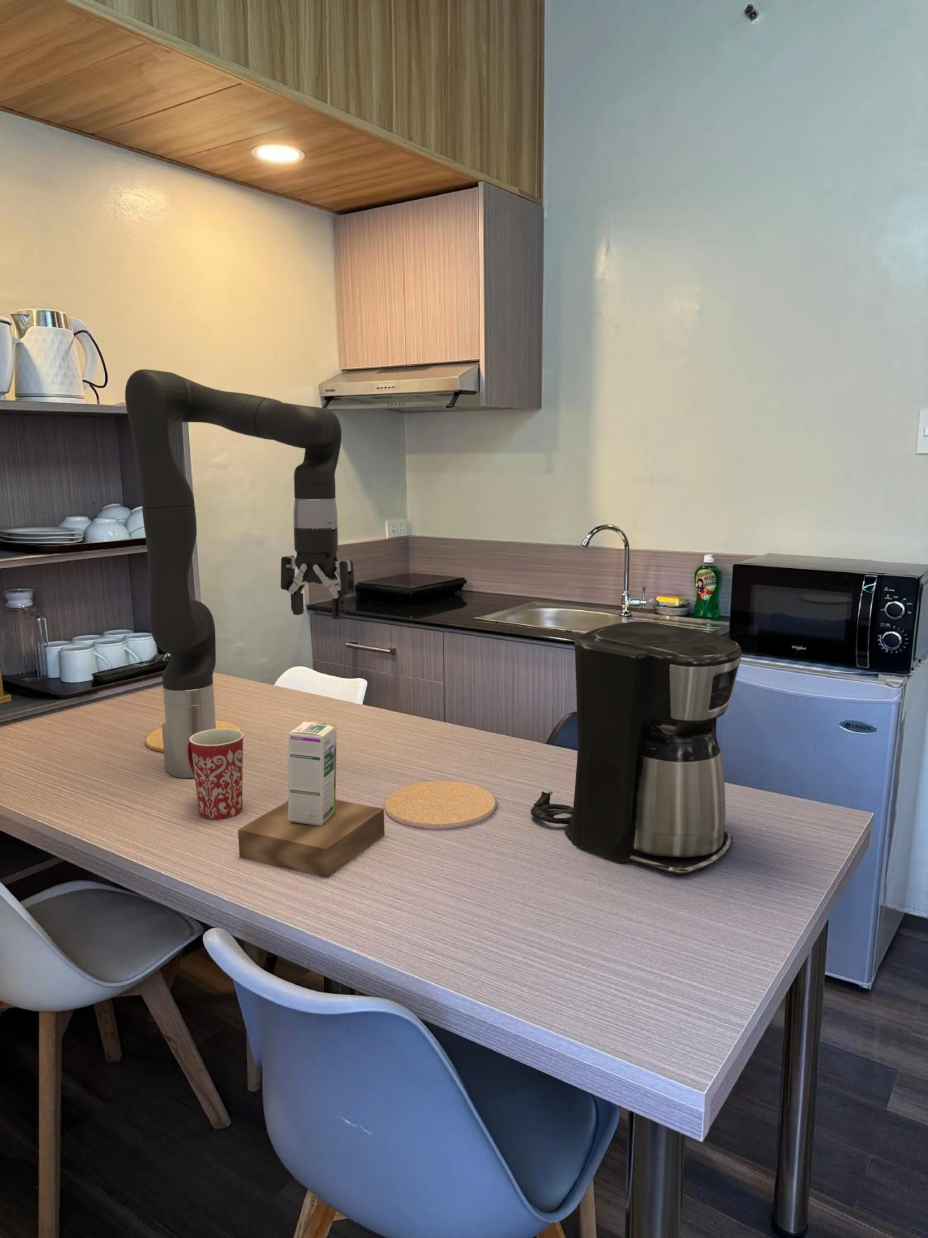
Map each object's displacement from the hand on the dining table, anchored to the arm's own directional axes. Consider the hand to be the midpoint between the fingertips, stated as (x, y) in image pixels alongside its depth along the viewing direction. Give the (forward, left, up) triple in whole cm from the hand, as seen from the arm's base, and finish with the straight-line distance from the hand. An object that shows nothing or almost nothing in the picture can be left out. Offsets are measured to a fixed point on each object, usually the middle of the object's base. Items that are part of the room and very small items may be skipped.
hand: (317, 616), depth 153 cm
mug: (-12, -16, -32) cm, 38 cm away
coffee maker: (+57, +5, -32) cm, 66 cm away
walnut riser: (+12, -21, -33) cm, 41 cm away
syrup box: (+12, -21, -28) cm, 36 cm away
